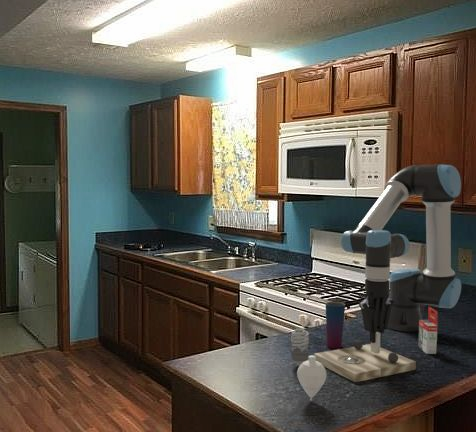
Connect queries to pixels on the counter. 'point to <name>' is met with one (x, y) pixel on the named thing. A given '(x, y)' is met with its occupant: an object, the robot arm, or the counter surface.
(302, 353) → the light bulb
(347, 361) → the steel ball
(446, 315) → the counter surface
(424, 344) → the ink box
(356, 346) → the black rubber ball
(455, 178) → the robot arm
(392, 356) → the black rubber ball
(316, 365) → the spinning top
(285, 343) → the counter surface
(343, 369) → the board
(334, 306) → the cup
